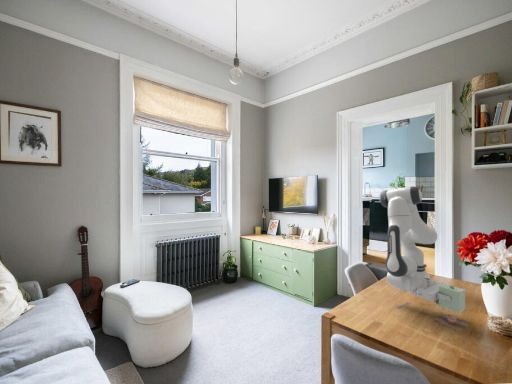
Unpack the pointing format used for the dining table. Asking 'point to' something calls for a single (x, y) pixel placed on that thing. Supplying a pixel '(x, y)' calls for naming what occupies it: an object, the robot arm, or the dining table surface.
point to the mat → (403, 305)
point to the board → (444, 320)
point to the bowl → (452, 319)
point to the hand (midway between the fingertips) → (454, 297)
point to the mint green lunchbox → (452, 298)
